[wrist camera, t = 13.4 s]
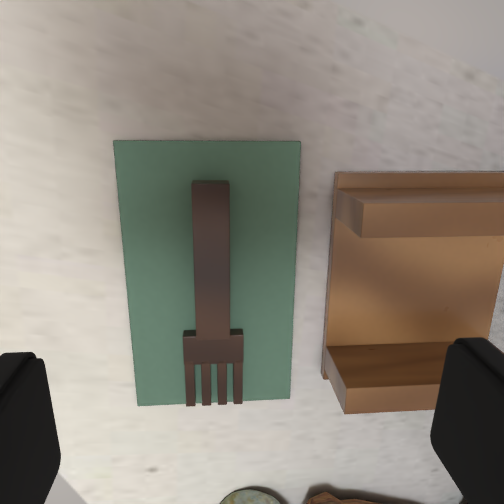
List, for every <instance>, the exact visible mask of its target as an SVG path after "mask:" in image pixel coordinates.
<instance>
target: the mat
mask: <svg viewBox="0 0 504 504" xmlns="http://www.w3.org/2000/svg"><path fill="white" fill-rule="evenodd" d="M113 145H114V156H115V167H116V177H117V188H118V199H119V210H120V221H121V231H122V242H123V253H124V264H125V275H126V285H127V296H128V307H129V318H130V329H131V339H132V350H133V361H134V372H135V383H136V393H137V404H138V406H150V405H171V404H186V390H185V367H184V359H183V331H184V330H196V319H195V289H194V258H193V227H192V197H191V183H192V181H193V180H229V184H230V329H243V334H244V362H243V401H253V400H273V399H290V381H291V358H292V334H293V311H294V288H295V265H296V242H297V218H298V195H299V172H300V149H301V142H300V141H113ZM195 384H196V403H202V385H201V365H195ZM232 401H233V363H232V364H227V402H232ZM212 402H218V382H217V364H211V403H212Z"/></svg>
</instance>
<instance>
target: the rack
mask: <svg viewBox="0 0 504 504" xmlns="http://www.w3.org/2000/svg"><path fill="white" fill-rule="evenodd" d="M503 264H504V172H335V182H334V196H333V211H332V225H331V240H330V254H329V268H328V283H327V297H326V312H325V326H324V340H323V355H322V369H321V374H322V377H323V379H324V380H326V379H329V380H330V382H331V385H332V387H333V389H334V392H335V394H336V396H337V398H338V401H339V403H340V405H341V407H342V410H343V412H344V414H359V413H378V412H397V411H416V410H434V409H435V408H436V403H437V397H438V392H439V387H440V382H441V377H442V372H443V367H444V362H445V357H446V352H447V348H448V346H449V345H451V344H453V343H454V341H455V340H456V339H457V338H470V337H483V338H485V339H487V340H488V336H489V331H490V326H491V322H492V317H493V312H494V307H495V302H496V298H497V293H498V288H499V283H500V278H501V274H502V269H503ZM490 343H491V342H490ZM491 344H492V343H491ZM495 347H496V346H495ZM496 348H497V347H496ZM497 349H498V348H497ZM498 350H499V349H498ZM500 351H501V350H500ZM501 352H502V351H501ZM502 353H503V352H502ZM503 354H504V353H503Z"/></svg>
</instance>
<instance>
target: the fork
mask: <svg viewBox="0 0 504 504" xmlns="http://www.w3.org/2000/svg"><path fill="white" fill-rule="evenodd" d="M191 197H192V227H193V258H194V289H195V319H196V330H184V331H183V359H184V367H185V390H186V406H195V405H196V384H195V365H201V385H202V405H203V406H206V405H211V364H217V382H218V405H226V404H227V364H232V363H233V403H234V404H242V403H243V362H244V334H243V329H230V184H229V180H193V181H192V183H191Z"/></svg>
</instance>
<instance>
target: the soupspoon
mask: <svg viewBox="0 0 504 504" xmlns="http://www.w3.org/2000/svg"><path fill="white" fill-rule="evenodd" d="M221 504H280V503H279V502H278V501H277V500H276V499H275V498H274V497H272V496H271V495H268V494H266V493H263V492H260V491H258V490H257V491H256V490H252V489H251V490H242V491H236V492H233V493H231V494H230V495H229V496H227V497H226V498H225V499H224V500H223V502H221Z"/></svg>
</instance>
